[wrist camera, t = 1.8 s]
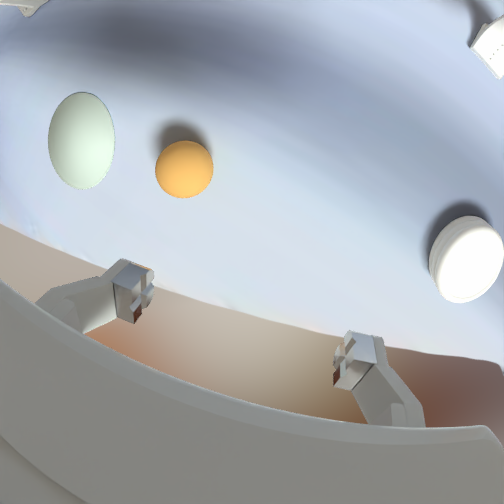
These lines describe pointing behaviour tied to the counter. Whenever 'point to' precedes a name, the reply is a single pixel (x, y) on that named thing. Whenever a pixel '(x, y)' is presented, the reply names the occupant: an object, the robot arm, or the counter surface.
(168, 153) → the ball
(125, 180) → the counter surface
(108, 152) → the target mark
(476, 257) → the white round disc
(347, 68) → the counter surface
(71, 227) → the counter surface
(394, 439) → the robot arm
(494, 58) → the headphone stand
